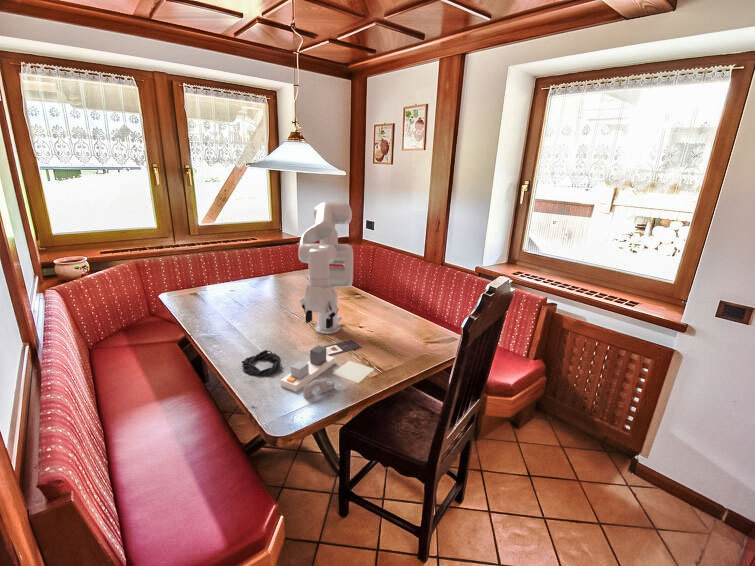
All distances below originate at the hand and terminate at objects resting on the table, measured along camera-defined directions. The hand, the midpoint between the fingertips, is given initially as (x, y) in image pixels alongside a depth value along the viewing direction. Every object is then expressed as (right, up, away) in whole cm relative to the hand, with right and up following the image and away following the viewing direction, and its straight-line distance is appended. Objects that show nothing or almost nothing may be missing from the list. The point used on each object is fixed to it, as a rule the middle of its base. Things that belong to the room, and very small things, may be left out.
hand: (319, 324), depth 142 cm
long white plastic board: (-4, -20, +1) cm, 20 cm away
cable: (-23, -18, +5) cm, 30 cm away
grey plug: (-6, -20, -4) cm, 22 cm away
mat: (+13, -19, +4) cm, 23 cm away
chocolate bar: (+5, -14, +22) cm, 27 cm away
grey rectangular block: (-1, -18, +5) cm, 18 cm away
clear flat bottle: (+2, -23, -11) cm, 26 cm away
